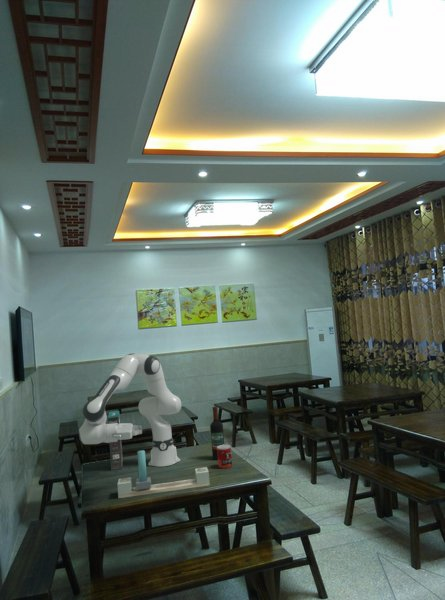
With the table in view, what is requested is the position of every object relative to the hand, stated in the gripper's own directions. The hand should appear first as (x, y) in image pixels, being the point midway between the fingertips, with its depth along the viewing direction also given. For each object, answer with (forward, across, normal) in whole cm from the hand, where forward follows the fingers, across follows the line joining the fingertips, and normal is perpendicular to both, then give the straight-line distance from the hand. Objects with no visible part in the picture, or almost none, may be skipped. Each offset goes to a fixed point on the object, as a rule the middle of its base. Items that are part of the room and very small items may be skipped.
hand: (142, 429), depth 223 cm
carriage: (-1, 0, +27) cm, 27 cm away
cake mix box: (-17, +54, +30) cm, 64 cm away
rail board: (+9, 0, +30) cm, 31 cm away
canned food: (+44, +21, +29) cm, 57 cm away
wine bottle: (+43, +38, +29) cm, 64 cm away
